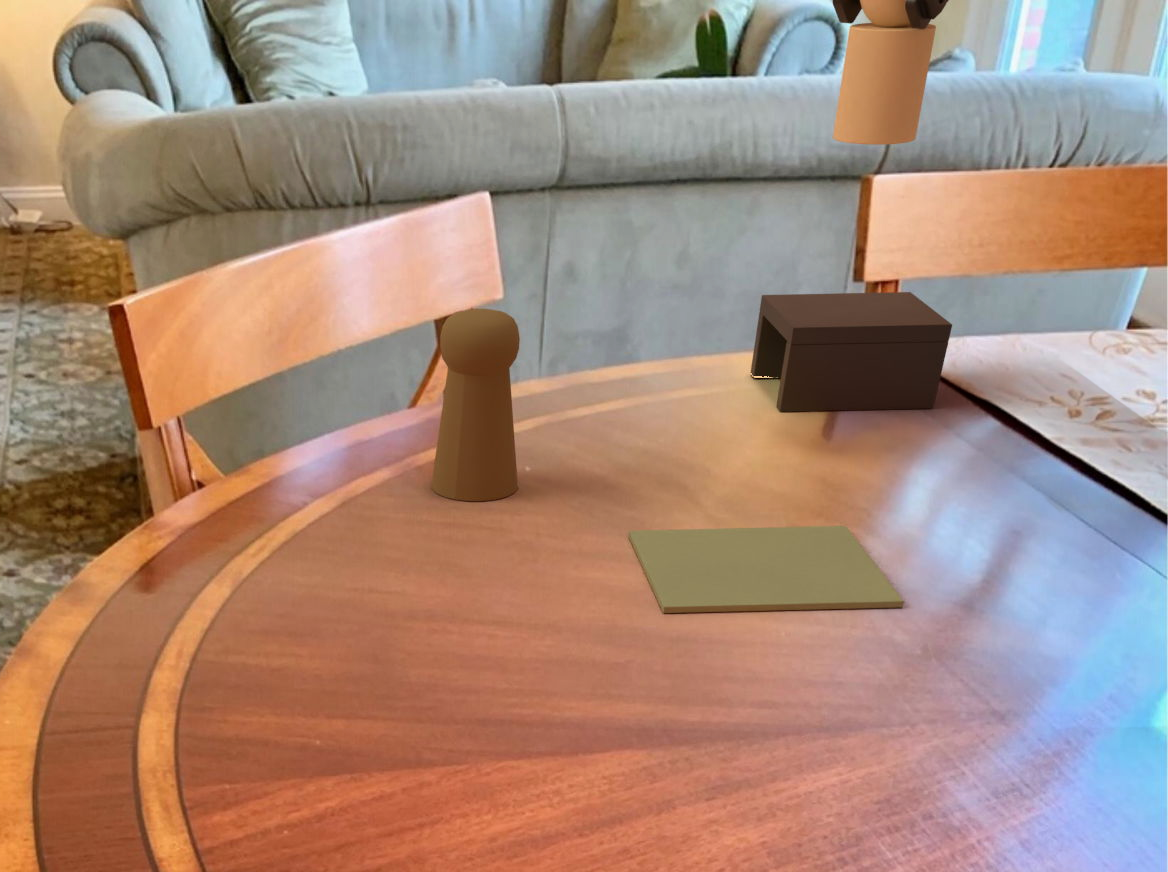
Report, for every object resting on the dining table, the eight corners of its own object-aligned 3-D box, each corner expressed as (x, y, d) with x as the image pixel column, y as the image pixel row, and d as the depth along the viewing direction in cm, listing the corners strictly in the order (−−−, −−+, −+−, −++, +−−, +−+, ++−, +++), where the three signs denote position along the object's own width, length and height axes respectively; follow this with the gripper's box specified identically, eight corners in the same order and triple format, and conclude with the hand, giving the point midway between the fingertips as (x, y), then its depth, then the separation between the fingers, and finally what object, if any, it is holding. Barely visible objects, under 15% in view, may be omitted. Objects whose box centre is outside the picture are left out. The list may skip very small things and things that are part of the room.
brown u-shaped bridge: (894, 371, 121) (910, 291, 118) (933, 408, 114) (952, 324, 110) (749, 374, 121) (761, 294, 117) (779, 412, 114) (793, 327, 110)
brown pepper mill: (473, 465, 105) (479, 295, 98) (536, 486, 102) (547, 312, 94) (412, 485, 102) (414, 312, 95) (475, 507, 98) (481, 329, 91)
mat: (844, 531, 94) (846, 525, 94) (902, 607, 85) (904, 600, 85) (628, 536, 94) (628, 530, 94) (663, 613, 85) (663, 606, 85)
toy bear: (901, 131, 98) (938, -78, 91) (926, 143, 94) (967, -75, 87) (823, 133, 98) (854, -76, 91) (845, 145, 94) (879, -72, 87)
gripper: (920, -297, 90) (763, -40, 92) (1142, -315, 81) (963, -31, 83) (950, -185, 96) (801, 55, 98) (1160, -190, 87) (993, 72, 89)
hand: (877, 14), depth 91 cm, fingers closed on toy bear, 4 cm apart
